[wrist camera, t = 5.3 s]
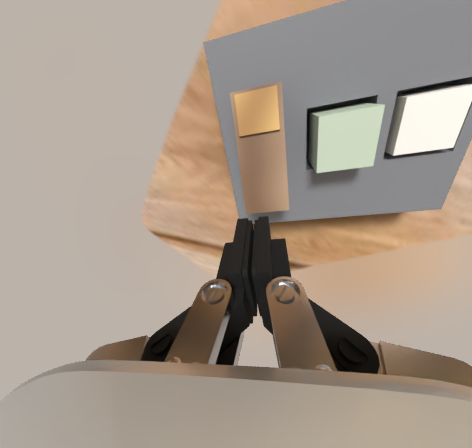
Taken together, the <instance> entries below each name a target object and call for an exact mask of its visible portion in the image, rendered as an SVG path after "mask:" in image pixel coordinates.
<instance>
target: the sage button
mask: <svg viewBox="0 0 472 448" xmlns="http://www.w3.org/2000/svg"><path fill="white" fill-rule="evenodd" d="M384 108H385V105H384V104H373V103H358V104H353V105H348V106H342V107H337V108H332V109H327V110H321V111H316V112H311V113H310V121H309V162H310V163H311V165H312V166H313V168H314V170H315V171H316V173H322V172H330V171H338V170H346V169H354V168H362V167H370V166H373V165H374V159H375V154H376V149H377V144H378V139H379V134H380V129H381V123H382V118H383V113H384Z"/></svg>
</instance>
